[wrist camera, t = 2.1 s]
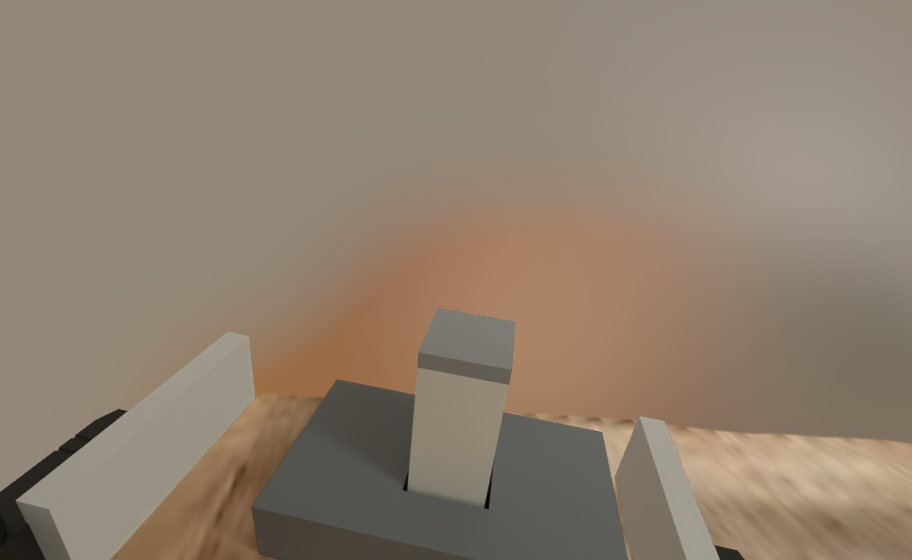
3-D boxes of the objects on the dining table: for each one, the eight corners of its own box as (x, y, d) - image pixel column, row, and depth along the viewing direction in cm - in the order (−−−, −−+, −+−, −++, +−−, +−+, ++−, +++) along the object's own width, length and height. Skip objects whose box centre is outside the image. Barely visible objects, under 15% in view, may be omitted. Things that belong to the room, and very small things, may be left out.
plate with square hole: (588, 472, 35) (602, 432, 33) (612, 642, 24) (635, 597, 22) (337, 419, 37) (336, 379, 35) (258, 553, 27) (251, 506, 25)
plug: (485, 476, 32) (515, 321, 26) (477, 539, 28) (511, 369, 22) (422, 463, 33) (437, 308, 27) (404, 522, 28) (418, 352, 22)
